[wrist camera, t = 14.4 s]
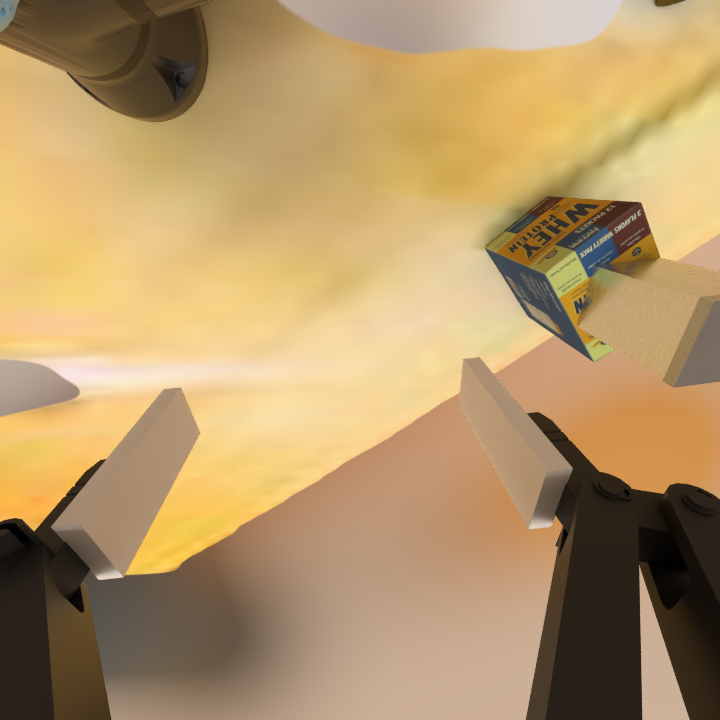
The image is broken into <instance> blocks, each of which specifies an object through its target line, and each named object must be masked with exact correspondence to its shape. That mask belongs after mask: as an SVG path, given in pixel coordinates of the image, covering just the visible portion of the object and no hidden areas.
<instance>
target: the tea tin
mask: <svg viewBox="0 0 720 720" xmlns="http://www.w3.org/2000/svg"><path fill="white" fill-rule="evenodd" d="M577 327H578V328H580V329H582V330H583V331H585V332H587V333H588V334H590V335H592V336H594V337H595V338H597V339H599V340H600V341H602V342H604V343H606V344H607V345H609V346H611V347H612V348H614V349H616V350H618V351H619V352H621V353H623V354H624V355H626V356H628V357H630V358H631V359H633V360H635V361H637V362H638V363H640V364H641V365H643V366H645V367H647V368H648V369H650V370H652V371H653V372H655V373H657V374H659V375H660V376H662V377H664V379H663V381H664V382H665V383H667V384H669V385H670V386H672V387H681V386H689V385H697V384H704V383H712V382H719V381H720V271H716V270H711V269H707V268H703V267H698V266H694V265H689V264H685V263H681V262H676V261H672V260H667V259H663V258H659V257H658V258H650V259H642V260H634V261H625V262H617V263H609V264H601V265H593V268H592V272H591V276H590V279H589V283H588V287H587V291H586V295H585V298H584V302H583V306H582V310H581V314H580V318H579V321H578V325H577Z"/></svg>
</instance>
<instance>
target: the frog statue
mask: <svg viewBox="0 0 720 720" xmlns="http://www.w3.org/2000/svg"><path fill="white" fill-rule="evenodd" d="M681 1H684V0H656V4H657V5H658V6H668V5H671V4H675V3H679V2H681Z"/></svg>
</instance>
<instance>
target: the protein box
mask: <svg viewBox="0 0 720 720" xmlns="http://www.w3.org/2000/svg"><path fill="white" fill-rule="evenodd" d="M485 249H486V251H487V252H488V254H489V255H490V257H491V258H492V260H493V261H494V263H495V265H496V266H497V268H498V269H499V271H500V272H501V274H502V276H503V277H504V279H505V280H506V282H507V284H508V285H509V287H510V288H511V290H512V292H513V293H514V295H515V296H516V298H517V300H518V301H519V303H520V304H521V306H522V308H523V309H524V311H525V312H526V314H527V315H528V317H529V318H531V319H533V320H534V321H535V322H537V323H538V324H540V325H541V326H542V327H544V328H545V329H547V330H548V331H550V332H551V333H553V334H554V335H555V336H557V337H558V338H560V339H561V340H563V341H564V342H566V343H567V344H568V345H570V346H572V347H573V348H574V349H576V350H577V351H579V352H580V353H582V354H583V355H584V356H586V357H587V358H589V359H590V360H592V361H593V362H596V361H597V360H599V359H600V358H602V357H604V356H605V355H607V354H608V353H610V352H611V351H613V350H615V349H614V348H612V347H611V346H609V345H607V344H606V343H604V342H602V341H600V340H599V339H597V338H595V337H594V336H592V335H590V334H588V333H587V332H585V331H583V330H582V329H580V328H578V327H577V325H578V321H579V318H580V314H581V310H582V306H583V302H584V298H585V295H586V291H587V287H588V283H589V279H590V276H591V272H592V268H593V265H601V264H609V263H617V262H625V261H634V260H642V259H650V258H658V257H659V258H660V255H659V252H658V249H657V246H656V244H655V241H654V238H653V235H652V233H651V230H650V227H649V224H648V221H647V218H646V215H645V212H644V209H643V206H642V204H641V202H624V201H609V200H594V199H578V198H561V197H547V198H545V199H544V200H543V201H542V202H541V203H539V204H538V205H537V206H536V207H534V208H533V209H532V210H531V211H529V212H528V213H527V214H526V215H524V216H523V217H522V218H521V219H519V220H518V221H517V222H516V223H514V224H513V225H512V226H511V227H509V228H508V229H507V230H506V231H504V232H503V233H502V234H501V235H499V236H498V237H497V238H496V239H495V240H493V241H492V242H491V243H490V244H488V245H487V246H486V247H485Z"/></svg>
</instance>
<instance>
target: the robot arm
mask: <svg viewBox="0 0 720 720" xmlns="http://www.w3.org/2000/svg"><path fill="white" fill-rule="evenodd" d="M210 1H213V0H0V44H1V45H3V46H6V47H8V48H11V49H13V50H15V51H18V52H20V53H23V54H25V55H27V56H30V57H32V58H35V59H37V60H40V61H42V62H44V63H47V64H49V65H52V66H54V67H56V68H59V69H61V70H64V71H66V72H67V74H68V75H69V76H70V77H71V78H72V79H73V80H74V81H75V82H76V83H77V84H78V85H79V86H80V87H81V88H82V89H83V90H84V91H85V92H86V93H88V94H89V95H90V96H91V97H93V98H94V99H95V100H97V101H98V102H100V103H101V104H103V105H105V106H106V107H108V108H110V109H112V110H114V111H116V112H118V113H120V114H123V115H126V116H129V117H132V118H135V119H138V120H143V121H150V122H160V121H166V120H170V119H173V118H175V117H177V116H179V115H181V114H182V113H184V112H185V111H186V110H187V109H189V108H190V107H191V105H192V104H193V103H194V102H195V100H196V99H197V97H198V95H199V93H200V91H201V89H202V87H203V84H204V80H205V76H206V71H207V62H208V48H207V38H206V32H205V27H204V23H203V19H202V16H201V13H200V10H199V7H198V5H201V4H204V3H207V2H210ZM459 407H460V409H461V411H462V413H463V414H464V416H465V418H466V420H467V421H468V423H469V425H470V427H471V428H472V430H473V432H474V434H475V436H476V437H477V439H478V441H479V442H480V444H481V446H482V448H483V450H484V451H485V453H486V455H487V457H488V458H489V460H490V462H491V464H492V465H493V467H494V469H495V471H496V473H497V474H498V476H499V478H500V480H501V481H502V483H503V485H504V487H505V488H506V490H507V492H508V494H509V496H510V497H511V499H512V501H513V503H514V504H515V506H516V508H517V510H518V511H519V513H520V515H521V516H522V519H523V520H524V522H525V524H526V526H527V527H528V529H534V528H542V527H551V526H552V523H553V520H554V517H555V515H556V516H557V518H558V519H559V521H560V522H561V524H562V525H563V528H562V530H561V533H560V535H559V538H558V540H557V543H556V546H557V547H558V550H557V556H556V561H555V567H554V572H553V577H552V583H551V588H550V593H549V598H548V604H547V609H546V615H545V621H544V626H543V631H542V636H541V641H540V648H539V652H538V658H537V663H536V668H535V674H534V679H533V684H532V690H531V695H530V700H529V706H528V711H527V717H526V720H642V684H641V636H640V592H639V591H640V589H639V565H640V568H641V571H642V575H643V577H644V581H645V584H646V587H647V590H648V593H649V596H650V599H651V602H652V605H653V608H654V611H655V614H656V618H657V620H658V624H659V627H660V630H661V633H662V636H663V639H664V642H665V645H666V648H667V651H668V654H669V657H670V660H671V663H672V666H673V670H674V673H675V676H676V679H677V682H678V685H679V688H680V691H681V694H682V697H683V700H684V703H685V706H686V710H687V712H688V716H689V719H690V720H720V499H718V498H717V497H716V496H714V495H713V494H711V493H709V492H707V491H705V490H703V489H701V488H698V487H695V486H692V485H689V484H680V483H676V484H672V485H670V486H669V487H668V488H667V490H666V491H665V493H664V494H660V493H654V492H647V491H641V490H635V489H631V487H630V486H629V485H628V484H626V483H625V482H623V481H622V480H621V479H619V478H617V477H615V476H612V475H610V474H607V473H603V472H599V471H598V470H597V469H596V468H595V467H594V466H593V464H592V463H591V462H590V461H589V460H588V459H587V458H586V457H585V456H584V455H583V454H582V453H581V451H580V450H579V449H578V448H577V447H576V446H575V445H574V444H573V443H572V442H571V441H569V440H568V437H566V435H565V434H564V433H563V432H561V430H560V429H559V428H558V427H557V426H556V425H555V423H554V422H553V421H552V420H550V419H549V418H547V417H545V416H544V415H542V414H541V413H539V412H535V413H526V412H525V411H524V410H523V408H522V407H521V406H520V405H519V404H518V403H517V401H516V400H515V399H514V398H513V397H512V396H511V394H510V393H509V392H508V391H507V389H506V388H505V387H504V386H503V385H502V384H501V382H500V381H499V380H498V379H497V378H496V376H495V375H494V374H493V373H492V372H491V370H490V369H489V368H488V367H487V366H486V365H485V363H484V362H483V361H482V360H481V359H480V357H478V358H469V359H463V368H462V378H461V388H460V398H459ZM199 434H200V431H199V429H198V427H197V424H196V422H195V420H194V417H193V415H192V413H191V410H190V408H189V406H188V403H187V401H186V399H185V396H184V394H183V392H182V389H181V388H172V389H164V390H163V391H162V392H161V393H160V395H159V396H158V397H157V398H156V400H155V401H154V402H153V403H152V404H151V406H150V407H149V408H148V409H147V410H146V412H145V413H144V414H143V415H142V417H141V418H140V419H139V420H138V421H137V423H136V424H135V425H134V426H133V428H132V429H131V430H130V431H129V432H128V434H127V435H126V436H125V437H124V438H123V440H122V441H121V442H120V443H119V445H118V446H117V447H116V448H115V449H114V451H113V452H112V453H111V454H110V456H109V457H108V458H107V459H104V460H100V461H99V462H97V463H96V464H95V465H94V466H92V467H91V468H90V469H88V470H87V471H86V472H85V473H84V474H83V475H82V477H81V478H80V479H79V480H78V481H77V482H76V484H75V486H73V487H72V488H71V489H70V491H69V492H68V493H67V494H66V497H64V498H63V499H62V500H61V501H60V502H59V503H58V505H57V506H56V507H55V508H54V509H53V510H52V512H51V513H50V514H49V515H48V516H47V517H46V519H45V520H44V521H43V522H42V523H41V524H40V526H39V527H38V528H37V529H36V530H35V531H33V530H32V529H31V528H30V527H29V526H28V525H27V524H26V523H25V522H24V521H23V520H22V519H17V518H13V519H8V520H4V521H2V522H0V720H111V715H110V710H109V705H108V699H107V693H106V688H105V683H104V677H103V672H102V666H101V661H100V656H99V650H98V645H97V639H96V634H95V629H94V623H93V617H92V612H91V606H90V601H89V596H88V591H87V587H86V586H85V584H84V583H83V582H82V581H83V580H84V578H85V577H86V575H87V573H88V572H89V570H90V571H91V572H92V573H93V574H94V575H95V576H96V577H97V578H98V579H99V580H103V579H111V578H120V577H124V575H125V574H126V572H127V570H128V568H129V566H130V564H131V562H132V560H133V558H134V557H135V555H136V553H137V551H138V549H139V547H140V545H141V543H142V542H143V540H144V538H145V536H146V534H147V532H148V530H149V528H150V527H151V525H152V523H153V521H154V519H155V517H156V515H157V513H158V511H159V510H160V508H161V506H162V504H163V502H164V500H165V498H166V496H167V495H168V493H169V491H170V489H171V487H172V485H173V483H174V481H175V480H176V478H177V476H178V474H179V472H180V470H181V468H182V466H183V464H184V463H185V461H186V459H187V457H188V455H189V453H190V451H191V449H192V448H193V446H194V444H195V442H196V440H197V438H198V436H199Z"/></svg>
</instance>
